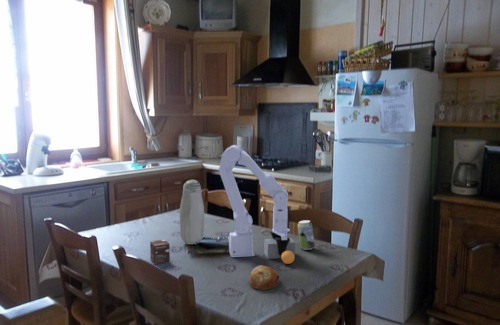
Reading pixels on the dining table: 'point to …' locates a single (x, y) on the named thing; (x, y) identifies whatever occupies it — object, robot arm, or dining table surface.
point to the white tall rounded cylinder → (192, 213)
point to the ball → (287, 257)
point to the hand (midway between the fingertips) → (279, 251)
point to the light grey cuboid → (276, 248)
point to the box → (159, 251)
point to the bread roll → (264, 278)
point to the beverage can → (306, 234)
